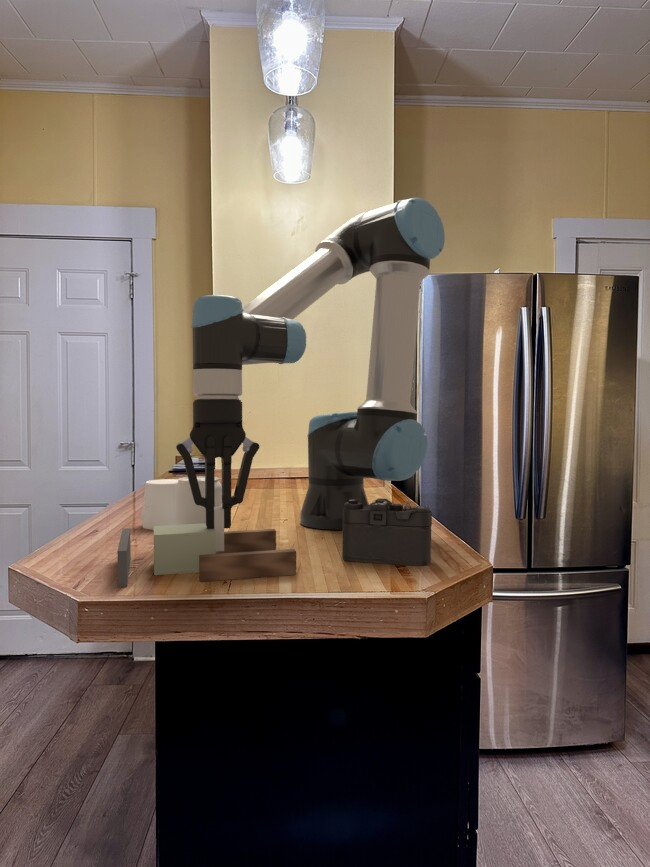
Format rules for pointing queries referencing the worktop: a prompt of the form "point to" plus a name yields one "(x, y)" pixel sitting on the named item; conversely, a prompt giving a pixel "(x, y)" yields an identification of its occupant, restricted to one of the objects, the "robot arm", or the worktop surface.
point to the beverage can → (185, 503)
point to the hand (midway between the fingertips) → (218, 549)
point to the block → (181, 547)
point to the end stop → (124, 557)
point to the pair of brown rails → (247, 557)
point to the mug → (159, 503)
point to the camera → (386, 533)
